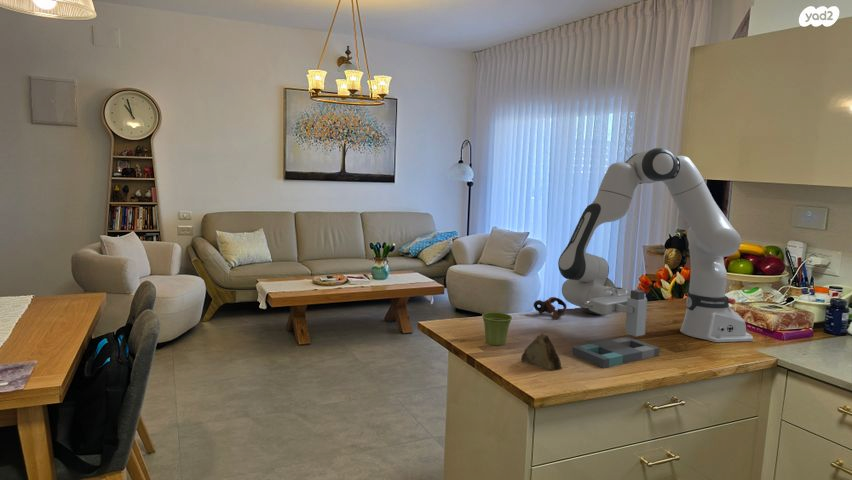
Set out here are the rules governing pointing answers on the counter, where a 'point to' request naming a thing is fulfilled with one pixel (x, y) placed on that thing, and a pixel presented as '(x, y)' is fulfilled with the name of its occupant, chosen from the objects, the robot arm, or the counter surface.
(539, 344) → the rock
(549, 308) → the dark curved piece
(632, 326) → the plug
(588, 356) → the panel
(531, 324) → the counter surface
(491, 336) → the plant pot
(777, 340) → the counter surface
